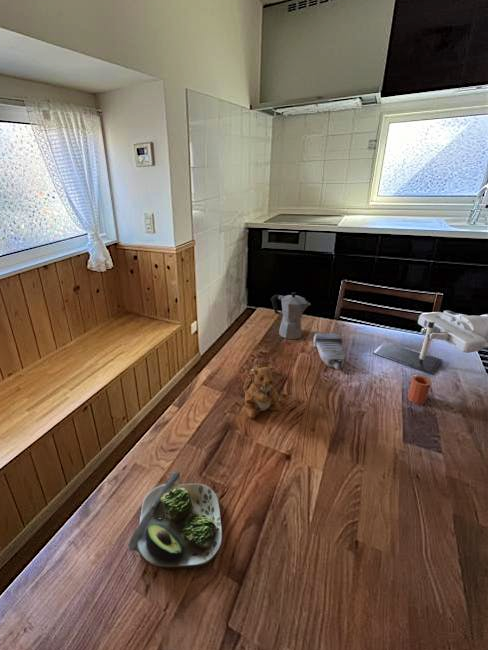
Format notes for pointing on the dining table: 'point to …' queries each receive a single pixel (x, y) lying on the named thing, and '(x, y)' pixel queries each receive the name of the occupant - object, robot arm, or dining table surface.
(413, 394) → the pen cup
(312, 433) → the dining table surface
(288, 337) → the coffeepot
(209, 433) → the dining table surface
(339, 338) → the handheld device
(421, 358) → the stylus
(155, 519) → the salad plate
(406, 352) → the tablet
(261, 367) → the stuffed squirrel
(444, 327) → the robot arm
